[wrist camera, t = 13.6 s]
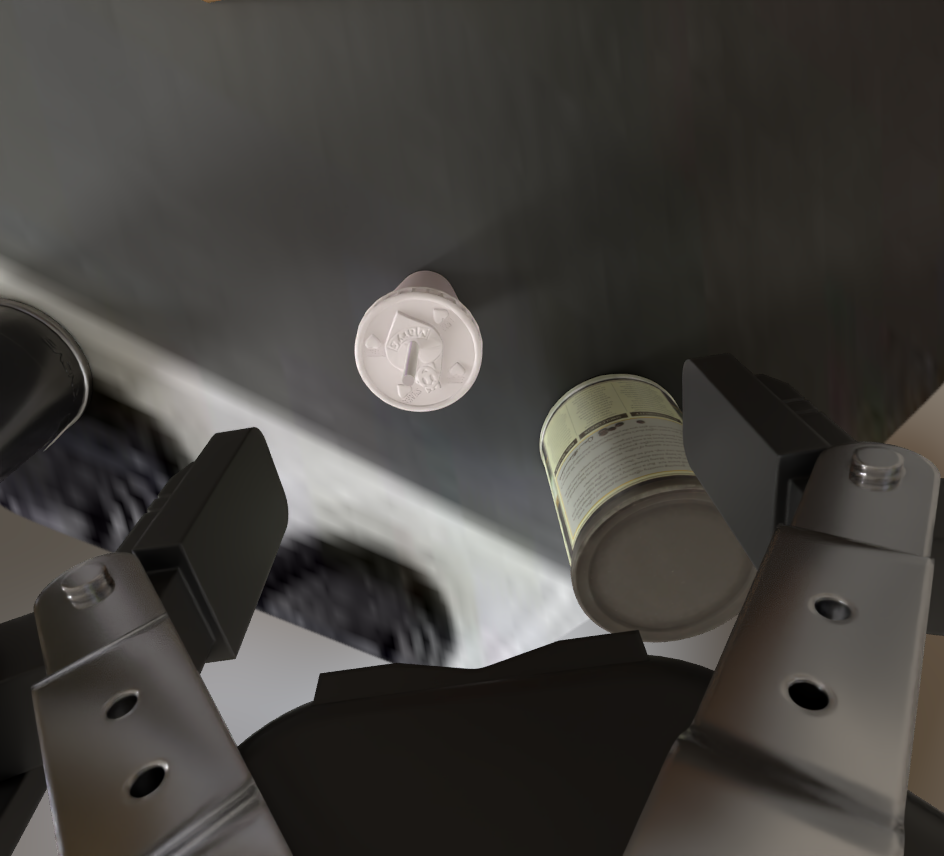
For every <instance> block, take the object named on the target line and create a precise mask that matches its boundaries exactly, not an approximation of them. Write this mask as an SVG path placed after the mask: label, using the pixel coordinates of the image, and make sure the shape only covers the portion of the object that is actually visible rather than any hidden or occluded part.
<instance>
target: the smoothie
mask: <svg viewBox="0 0 944 856" xmlns="http://www.w3.org/2000/svg"><path fill="white" fill-rule="evenodd" d="M355 360H356V364H357V368H358V371H359V373H360V375H361V377H362V379H363V381H364V382H365V384H366V385H367V387H368V388H369V389H370V390H371V391H372V392H373V393H374V394H375V395H376V396H377V397H379V398H380V399H381V400H383V401H384V402H386V403H388V404H390V405H392V406H394V407H397V408H400V409H403V410H408V411H415V412H425V411H433V410H437V409H441V408H444V407H446V406H448V405H450V404H452V403H454V402H455V401H457V400H458V399H460V398H461V397H462V396H463V395H464V394H465V393H466V392H467V391H468V390H469V389H470V388H471V386H472V385H473V383H474V382H475V380H476V378H477V375H478V373H479V370H480V366H481V361H482V338H481V334H480V330H479V326H478V324H477V323H476V321H475V319H474V317H473V316H472V314H471V312H470V311H469V310H468V309H467V308H466V307H465V306H464V305H463V304H462V303H461V302H460V301H459V300H458V298H457V296H456V294H455V292H454V290H453V288H452V286H451V284H450V283H449V282H448V281H447V279H445V278H444V277H443V276H442V275H440V274H438V273H435V272H432V271H418V272H415V273H413V274H411V275H409V276H408V277H406V278H405V279H404V280H403V281H402V282H401V284H400V285H399V286H398V287H397V288H396V289H395V290H394V291H392V292H390V293H388V294H386V295H385V296H383V297H381V298H380V299H378V300H377V301H376V302H375V303H374V304H373V305H372V306H371V307H370V308H369V309H368V310H367V311H366V313H365V315H364V317H363V319H362V320H361V322H360V324H359V327H358V332H357V336H356V341H355Z"/></svg>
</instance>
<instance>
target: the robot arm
mask: <svg viewBox="0 0 944 856" xmlns="http://www.w3.org/2000/svg"><path fill="white" fill-rule="evenodd" d="M682 387H683V444H684V450H685V454H686V458H687V461H688V463H689V466H690V467H691V469H692V471H693V472H694V474H695V475H696V477H697V478H698V480H699V482H700V483H701V485H702V486H703V488H704V489H705V491H706V492H707V494H708V495H709V497H710V498H711V500H712V502H713V503H714V505H715V506H716V508H717V509H718V511H719V512H720V514H721V515H722V517H723V519H724V520H725V522H726V523H727V525H728V526H729V528H730V529H731V531H732V532H733V534H734V535H735V537H736V539H737V540H738V542H739V543H740V545H741V546H742V548H743V549H744V551H745V552H746V554H747V556H748V557H749V559H750V560H751V562H752V563H753V565H754V566H755V568H756V569H757V573H756V576H755V578H754V580H753V583H752V585H751V587H750V590H749V592H748V594H747V597H746V599H745V601H744V604H743V606H742V608H741V611H740V613H739V615H738V618H737V620H736V623H735V625H734V627H733V629H732V632H731V634H730V636H729V639H728V641H727V643H726V646H725V648H724V651H723V653H722V655H721V657H720V660H719V662H718V664H717V667H716V669H715V671H713V670H710V669H708V668H705V667H703V666H700V665H697V664H693V663H689V662H686V661H683V660H679V659H673V658H667V657H662V656H653V655H647V652H646V649H645V647H644V644H643V641H642V638H641V635H640V632H639V630H633V631H626V632H618V633H611V634H604V635H597V636H589V637H582V638H575V639H568V640H560V641H557V642H554V643H551V644H548V645H545V646H543V647H540V648H537V649H534V650H531V651H529V652H526V653H523V654H520V655H518V656H515V657H512V658H509V659H506V660H504V661H501V662H498V663H495V664H492V665H490V666H487V667H483V668H479V669H464V668H452V667H439V666H427V665H415V664H403V663H393V664H385V665H378V666H371V667H364V668H356V669H349V670H342V671H335V672H327V673H320V675H319V679H318V684H317V688H316V692H315V697H314V701H311V702H309V703H306V704H304V705H302V706H299V707H297V708H295V709H293V710H291V711H289V712H287V713H285V714H283V715H281V716H280V717H278V718H276V719H275V720H273V721H271V722H269V723H268V724H267V725H265V726H264V727H262V728H261V729H259V730H258V731H256V732H255V733H254V734H252V735H251V736H250V737H248V738H247V739H246V740H245V741H244V742H243V743H241V744H240V745H239V746H238V747H237V745H236V743H235V741H234V739H233V737H232V735H231V733H230V732H229V729H228V727H227V725H226V724H225V722H224V720H223V718H222V716H221V714H220V712H219V710H218V708H217V706H216V705H215V703H214V701H213V699H212V697H211V695H210V693H209V691H208V689H207V687H206V686H205V684H204V682H203V680H202V678H201V676H200V673H201V671H202V669H203V666H204V664H205V663H210V662H217V661H224V660H231V659H236V656H237V654H238V651H239V649H240V646H241V644H242V641H243V638H244V636H245V633H246V631H247V628H248V626H249V623H250V621H251V618H252V615H253V613H254V610H255V608H256V605H257V603H258V600H259V597H260V595H261V592H262V590H263V587H264V585H265V582H266V579H267V577H268V574H269V572H270V569H271V567H272V564H273V561H274V559H275V556H276V554H277V551H278V549H279V546H280V543H281V541H282V538H283V536H284V533H285V531H286V528H287V524H288V504H287V499H286V496H285V492H284V490H283V487H282V484H281V481H280V479H279V476H278V473H277V470H276V468H275V465H274V462H273V459H272V457H271V454H270V451H269V448H268V446H267V443H266V440H265V438H264V436H263V434H262V432H261V431H260V430H259V429H258V428H256V427H252V428H246V429H240V430H233V431H227V432H221V433H216V434H214V435H213V437H212V438H211V439H210V441H209V442H208V444H207V445H206V446H205V448H204V449H203V451H202V452H201V453H200V455H199V456H198V458H197V459H196V460H195V462H192V463H190V464H189V465H188V466H186V467H185V468H184V469H182V470H181V471H180V472H178V473H177V474H176V475H174V476H173V477H172V478H171V479H170V480H169V481H168V482H167V484H166V485H165V486H164V488H163V489H162V490H161V492H160V493H159V494H158V499H155V500H154V501H153V502H152V504H151V505H150V506H149V508H148V509H147V513H146V514H144V515H143V516H142V517H141V519H140V520H139V521H138V523H137V524H136V525H135V527H134V528H133V529H132V531H131V532H130V533H129V535H128V536H127V537H126V539H125V540H124V541H123V543H122V544H121V545H120V547H119V548H118V549H117V551H116V552H115V553H109V554H105V555H101V556H97V557H94V558H92V559H89V560H87V561H84V562H82V563H80V564H78V565H76V566H74V567H72V568H70V569H69V570H67V571H66V572H64V573H63V574H61V575H60V576H58V577H57V578H55V579H54V580H53V581H52V582H51V583H49V584H48V585H47V587H45V588H44V589H43V591H42V592H41V594H39V596H38V598H37V599H36V601H35V604H34V612H33V613H30V614H27V615H24V616H22V617H18V618H16V619H12V620H10V621H7V622H4V623H1V624H0V856H11V855H12V853H13V851H14V849H15V847H16V846H17V843H18V842H19V840H20V838H21V836H22V834H23V832H24V831H25V828H26V827H27V825H28V823H29V821H30V819H31V817H32V815H33V814H34V812H35V810H36V808H37V806H38V804H39V802H40V801H41V799H42V797H43V795H44V793H45V791H46V789H48V796H49V802H50V808H51V814H52V819H53V826H54V832H55V838H56V844H57V849H58V856H944V813H943V812H941V811H940V810H938V809H937V808H935V807H934V806H932V805H931V804H929V803H927V802H926V801H924V800H923V799H921V798H920V797H918V796H917V795H915V794H913V793H912V792H910V791H909V790H907V787H908V779H909V771H910V762H911V754H912V746H913V738H914V729H915V721H916V713H917V704H918V696H919V688H920V680H921V671H922V663H923V654H924V647H925V638H926V634H932V635H942V636H944V478H940V473H939V470H938V469H937V467H936V466H935V465H934V464H933V463H932V462H931V461H929V460H928V459H927V458H925V457H923V456H922V455H920V454H918V453H915V452H913V451H911V450H908V449H905V448H902V447H898V446H895V445H890V444H885V443H877V442H857V441H856V440H854V439H853V438H852V437H851V436H850V435H848V434H847V433H846V432H845V431H844V430H843V429H841V428H840V427H839V426H838V425H837V424H835V423H834V422H833V421H832V420H831V419H829V418H828V417H827V416H826V415H825V414H824V413H822V412H818V408H816V407H815V406H814V405H813V404H812V403H810V402H809V401H808V400H805V399H804V397H803V396H802V395H801V394H800V393H799V392H797V391H796V390H795V389H794V388H793V387H791V386H790V385H789V384H788V383H785V382H782V381H780V380H777V379H775V378H772V377H769V376H767V375H764V374H759V375H753V374H752V373H751V372H750V371H749V370H748V369H747V368H746V367H745V366H743V365H742V364H741V363H740V362H739V361H738V360H737V359H736V358H735V357H734V356H733V355H731V354H730V353H724V354H718V355H712V356H706V357H699V358H693V359H687V360H686V361H685V363H684V366H683V375H682ZM92 390H93V382H92V375H91V370H90V367H89V364H88V362H87V359H86V357H85V355H84V353H83V352H82V350H81V348H80V347H79V345H78V344H77V343H76V341H75V340H74V339H73V338H72V336H71V335H70V334H69V333H68V332H67V331H66V330H65V329H64V328H63V327H62V326H61V325H59V324H58V323H57V322H56V321H54V320H53V319H52V318H50V317H49V316H47V315H46V314H44V313H42V312H41V311H39V310H37V309H35V308H33V307H30V306H28V305H26V304H23V303H20V302H17V301H13V300H8V299H2V298H0V483H1V482H2V481H3V480H4V479H6V478H7V477H8V476H9V475H10V474H11V473H13V472H14V471H15V470H16V469H17V468H19V467H20V466H21V465H22V464H23V463H25V462H26V461H27V460H28V459H29V458H30V457H32V456H33V455H34V454H35V453H36V452H38V451H39V450H40V449H41V448H43V447H44V446H45V445H46V444H47V443H49V442H50V441H51V440H52V439H53V438H54V437H56V436H57V435H58V434H59V433H60V432H61V433H60V434H59V435H58V436H57V437H56V438H55V439H54V440H53V442H52V443H51V444H50V445H52V444H53V443H54V442H55V441H56V440H57V439H58V437H59V436H60V435H61V434H62V433H63V432H64V431H65V430H66V429H67V428H68V427H70V426H71V425H72V424H74V423H75V422H76V421H77V420H78V419H79V418H80V417H81V416H82V415H83V414H84V412H85V411H86V409H87V408H88V406H89V403H90V401H91V397H92ZM50 445H49V446H50ZM49 446H48V447H49ZM48 447H47V448H48ZM47 448H46V449H47ZM46 449H45V450H46ZM45 450H44V451H45Z"/></svg>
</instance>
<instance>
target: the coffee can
mask: <svg viewBox="0 0 944 856" xmlns="http://www.w3.org/2000/svg"><path fill="white" fill-rule="evenodd" d="M540 454H541V458H542V461H543V464H544V466H545V469H546V473H547V477H548V480H549V484H550V488H551V492H552V496H553V500H554V503H555V507H556V511H557V515H558V519H559V523H560V527H561V531H562V535H563V539H564V543H565V547H566V550H567V554H568V558H569V562H570V566H571V579H572V585H573V590H574V593H575V596H576V599H577V600H578V603H579V605H580V606H581V608H582V610H583V611H584V612H585V614H586V615H587V616H588V617H589V618H590V619H591V620H592V621H593V622H594V623H596V624H597V625H598V626H599V627H601V628H603V629H605V630H606V631H608V632H610V633H618V632H626V631H633V630H639V632H640V635H641V638H642V641H643V642H668V641H676V640H681V639H685V638H690V637H693V636H696V635H700V634H703V633H705V632H708V631H710V630H713V629H715V628H716V627H718V626H720V625H722V624H724V623H725V622H727V621H729V620H730V619H732V618H733V617H734V616H736V615H737V614H738V613H740V611H741V608H742V606H743V604H744V601H745V599H746V597H747V594H748V592H749V590H750V587H751V585H752V583H753V580H754V578H755V576H756V573H757V569H756V568H755V566H754V565H753V563H752V562H751V560H750V559H749V557H748V556H747V554H746V552H745V551H744V549H743V548H742V546H741V545H740V543H739V542H738V540H737V539H736V537H735V535H734V534H733V532H732V531H731V529H730V528H729V526H728V525H727V523H726V522H725V520H724V519H723V517H722V515H721V514H720V512H719V511H718V509H717V508H716V506H715V505H714V503H713V502H712V500H711V498H710V497H709V495H708V494H707V492H706V491H705V489H704V488H703V486H702V485H701V483H700V482H699V480H698V478H697V477H696V475H695V474H694V472H693V471H692V469H691V467H690V466H689V463H688V461H687V458H686V454H685V450H684V444H683V413H682V412H681V410H680V409H679V407H678V406H677V404H676V402H675V401H674V399H673V398H672V396H671V395H670V394H669V393H668V392H667V391H666V390H665V389H663V388H662V387H661V386H659V385H658V384H657V383H655V382H653V381H651V380H649V379H646V378H643V377H640V376H636V375H630V374H609V375H602V376H598V377H595V378H592V379H590V380H588V381H585V382H583V383H580V384H579V385H577V386H575V387H574V388H572V389H571V390H569V391H568V392H567V393H566V394H565V395H563V396H562V397H561V398H560V399H559V400H558V401H557V403H556V404H555V405H554V406H553V407H552V408H551V410H550V412H549V414H548V416H547V418H546V419H545V422H544V424H543V427H542V430H541V435H540Z"/></svg>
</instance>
